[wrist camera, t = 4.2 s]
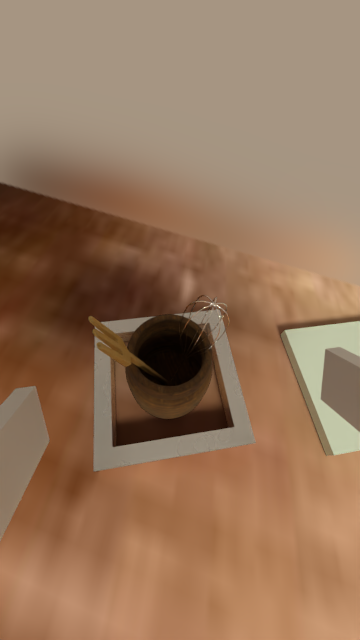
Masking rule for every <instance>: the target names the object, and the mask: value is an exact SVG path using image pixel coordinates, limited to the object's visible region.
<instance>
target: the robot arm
mask: <svg viewBox="0 0 360 640" xmlns="http://www.w3.org/2000/svg"><path fill="white" fill-rule="evenodd" d="M321 400H322V401H323V402H324V403H326V404H327V405H328V406H329V407H330V408H332V409H333V410H334V411H335V412H336V413H337V414H339V415H340V416H341V417H342V418H343V419H345V420H346V421H347V422H348V423H349V424H351V425H352V426H353V427H354V428H355V429H356V430H358V431H359V432H360V357H359V356H357V355H355V354H353V353H351V352H349V351H347V350H345V349H343V348H341V347H335V348H328V349H325V357H324V368H323V378H322V388H321ZM49 441H50V440H49V436H48V432H47V429H46V425H45V421H44V417H43V413H42V409H41V405H40V401H39V398H38V394H37V390H36V386H32V387H24V388H16V389H15V390H14V391H13V392H12V393H11V395H10V396H9V397H8V398H7V399H6V400H5V401H4V402H3V403H2V404H1V405H0V541H1V539H2V537H3V535H4V533H5V530H6V528H7V526H8V524H9V522H10V520H11V518H12V516H13V514H14V512H15V510H16V508H17V506H18V504H19V502H20V500H21V498H22V496H23V494H24V492H25V490H26V488H27V486H28V484H29V482H30V480H31V477H32V475H33V473H34V471H35V469H36V467H37V465H38V463H39V461H40V459H41V457H42V455H43V453H44V451H45V449H46V447H47V445H48V443H49Z"/></svg>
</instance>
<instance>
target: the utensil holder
mask: <svg viewBox="0 0 360 640" xmlns="http://www.w3.org/2000/svg"><path fill="white" fill-rule="evenodd" d="M202 296H206V295H202ZM200 297H201V296H200ZM200 297H198V299H199V298H200ZM206 297H208V296H206ZM208 298H209V297H208ZM215 298H216V299H217V297H215ZM215 298H214V300H215V302H216V299H215ZM198 299H197V300H198ZM209 299H210V298H209ZM197 300H196V301H195V302H193V303H195V304H196V302H207V301H197ZM210 300H211V299H210ZM214 300H213V301H214ZM211 301H212V300H211ZM213 301H212V303H211V302H207V303H211V305H209V306H210V307H211V306H212V305H213V308H214V306H215V308H216V306H217V307H219V306H218V305H216V304H224V303H216V304H215V302H213ZM193 303H191V304H193ZM191 304H189V305H191ZM195 304H194V306H195ZM189 305H188V306H189ZM224 305H226V304H224ZM188 306H187V307H186V309H187V308H188ZM194 306H193V308H194ZM209 306H207V307H209ZM207 307H204V308H203V309H205V308H207ZM210 307H209V309H210ZM193 308H192V310H193ZM213 308H212V310H213ZM219 308H221V307H219ZM186 309H185V311H186ZM203 309H201V310H203ZM209 309H208V310H209ZM221 309H222V308H221ZM192 310H191V312H192ZM201 310H199V311H201ZM212 310H211V313H212ZM216 310H217V308H216ZM222 310H223V309H222ZM185 311H184V313H185ZM199 311H198V312H199ZM223 311H224V310H223ZM226 311H227V305H226ZM226 311H224V312H225V313H226ZM198 312H196V313H195V314H197V313H198ZM207 312H208V311H207ZM207 312H206V314H207ZM184 313H183V315H184ZM211 313H210V315H211ZM217 313H218V310H217ZM225 313H224V314H225ZM195 314H194V315H195ZM206 314H205V316H206ZM224 314H223V316H224ZM183 315H182V316H180V315H173V314H166V315H159V316H156V317H153V318H151V319H149V320H147V321H145V322H144V323H142V324H141V325H140V326H139V327H138V328H137V329H136V330H135V332H134V333H133V335H132V336H131V338H130V341H129V343H128V347H126V345H125V343H124V342H123V340H122V338H121V337H119V336H118V335H117V334H116V333H114V332H113V331H111V330H110V329H109V328H107V327H106V326H105V325H103V324H102V323H101V322H99V321H98V320H97V319H95V318H94V317H92V316H89V317H88V320H89V322H90V323H91V324H92V325H94V326H95V327H96V328H97V329H98V330H97V329H93V330H92V332H93V335H94V336H95V337H97V338H98V339H99V340H101V341H102V342H103V343H105V344H106V345H107V346H106V345H104V344H103V343H101V342H98V343H97V344H96V345H97V348H98V349H99V350H100V351H102V352H103V353H105V354H106V355H108V356H109V357H111V358H112V359H114V360H115V361H117V362H118V363H120V364H121V365H123V366H125V367H126V378H127V382H128V385H129V388H130V390H131V392H132V394H133V396H134V398H135V400H136V401H137V403H138V404H139V405H140V406H141V408H142V409H144V410H145V411H146V412H147V413H149V414H151V415H153V416H155V417H158V418H163V419H174V418H178V417H181V416H184V415H186V414H187V413H189V412H190V411H192V410H193V409H194V408H195V407H196V406H197V405H198V403H199V402H200V401H201V399H202V398H203V396H204V394H205V392H206V390H207V388H208V386H209V384H210V380H211V376H212V345H213V344H214V343H216V342H217V341H218V340H219V339H220V338H221V337H222V335H223V334H224V332H225V331H226V329H227V328H228V325H229V317H228V314H227V313H226V315H227V317H228V325H227V327H226V329H225V331H224V332H223V334H222V335H221V337H220V338H219V339H218V340H217V341H216V342H215V340H216V339H217V337H218V335H219V333H218V335H217V337H216V339H215V340H214V342H213V344H210V341H209V338H208V335H209V334H210V333H211V332H212V331H213V330H214V329H215V328H216V327H217V325H218V324H219V323H220V321H221V319H222V318H223V316H222V318H221V319H220V316H219V313H218V316H219V323H218V324H217V325H216V327H215V328H214V329H213V330H212V331H211V332H210V333H209V334H208V335H206V333H205V332H204V328H205V326H206V324H207V322H208V320H209V317H210V315H209V317H208V319H207V322H206V324H205V326H204V328H203V329H202V328H201V327H200V326H201V324H202V322H203V320H204V318H205V316H204V318H203V320H202V322H201V324H200V326H199V325H198V324H197V323H195V322H194V321H192V320H190V319H191V318H192V317H193V316H194V315H193V316H192V317H191V318H190V316H189V319H188V318H186V317H183ZM190 315H191V313H190ZM99 330H100V331H101V332H100V331H99ZM219 332H220V326H219ZM108 346H109V347H110V348H109V347H108Z"/></svg>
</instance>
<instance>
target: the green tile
mask: <svg viewBox="0 0 360 640" xmlns="http://www.w3.org/2000/svg"><path fill="white" fill-rule="evenodd" d="M280 336H281V338H282V341H283V344H284V346H285V349H286V351H287V354H288V357H289V359H290V362H291V364H292V367H293V370H294V372H295V375H296V378H297V380H298V383H299V385H300V388H301V391H302V393H303V396H304V399H305V401H306V404H307V406H308V409H309V412H310V414H311V417H312V419H313V422H314V425H315V427H316V430H317V433H318V435H319V438H320V440H321V443H322V446H323V448H324V451H325V454H326V455H338V454H343V453H349V452H354V451H359V450H360V432H359V431H358V430H356V429H355V428H354V427H353V426H352V425H351V424H349V423H348V422H347V421H346V420H345V419H343V418H342V417H341V416H340V415H339V414H337V413H336V412H335V411H334V410H333V409H332V408H330V407H329V406H328V405H327V404H326V403H324V402H323V401H322V400H321V388H322V378H323V368H324V357H325V349H328V348H335V347H341V348H343V349H345V350H347V351H349V352H351V353H353V354H355V355H357V356H359V357H360V321H355V322H347V323H339V324H331V325H323V326H315V327H306V328H298V329H290V330H284V331H283V333H282V334H281V335H280Z"/></svg>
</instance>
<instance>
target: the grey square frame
mask: <svg viewBox="0 0 360 640" xmlns="http://www.w3.org/2000/svg"><path fill="white" fill-rule="evenodd" d="M206 312H207V311H200V312H198V313H197V314H195V313H196V312H191V315H190V313H184V315H183V313H181V314H173V315H180V316H182V315H183V317H186V318H188V319H189V316H190V318H191V317H192V316H193V315H194V314H195V315H194V316H193V317H192V318H191V319H190V320H192V321H194V322H195V323H197V324H198V325H199V326H200V324H201V322H202V320H203V318H204V316H205V314H206ZM210 313H211V310H209V311H208V312H207V314H206V316H205V318H204V320H203V322H202V324H201V326H200V327H201V328H202V329H203V328H204V326H205V324H206V322H207V319H208V317H209V315H210ZM218 313H219V316H220V319H221V318H222V316H221V312H220V309H218ZM218 313H217V310H212V313H211V315H210V317H209V320H208V322H207V324H206V326H205V328H204V332H207V335H208V334H209V333H210V332H211V331H212V330H213V329H214V328H215V327H216V325H217V324H218V323H219V316H218ZM154 317H156V316H154ZM151 318H153V317H144V318H135V319H126V320H117V321H107V322H101V323H102V324H103V325H105V326H106V327H107V328H109V329H110V330H111V331H113V332H114V333H116V334H117V335H118V336H119V337H121V338H122V340H123V342H126V341H130V338H131V336H132V335H133V333H134V332H135V330H136V329H137V328H138V327H139V326H140V325H141V324H142V323H144V322H145V321H147V320H149V319H151ZM219 326H220V332H219ZM95 329H97V328H96V327H95ZM97 330H98V329H97ZM99 331H100V330H99ZM224 331H225V327H224V323H223V320H222V319H221V321H220V323H219V324H218V325H217V327H216V328H215V329H214V330H213V331H212V332H211V333H210V334H209V335H208V338H209V341H210V344H213V342H214V340H215V339H216V337H217V335H218V333H219V335H218V337H217V339H216V340H215V342H216V341H217V340H218V339H219V338H220V337H221V335H222V334H223V332H224ZM100 332H101V331H100ZM98 342H101V343H103V342H102V341H101V340H99V339H98V338H97V337H95V362H94V471H100V470H106V469H111V468H117V467H123V466H128V465H134V464H140V463H145V462H151V461H157V460H162V459H168V458H174V457H180V456H185V455H191V454H197V453H202V452H208V451H214V450H219V449H225V448H231V447H236V446H242V445H248V444H253V443H256V442H255V438H254V435H253V431H252V427H251V424H250V420H249V416H248V412H247V409H246V405H245V401H244V398H243V394H242V390H241V386H240V383H239V379H238V375H237V372H236V368H235V364H234V360H233V357H232V353H231V349H230V346H229V342H228V338H227V334H226V331H225V332H224V334H223V335H222V337H221V338H220V339H219V340H218V341H217V342H216V343H214V344H213V345H212V359H213V363H214V367H215V372H216V376H217V380H218V385H219V389H220V394H221V398H222V402H223V407H224V411H225V415H226V420H227V424H228V428H226V429H220V430H213V431H207V432H201V433H195V434H189V435H183V436H177V437H171V438H165V439H159V440H153V441H147V442H141V443H135V444H129V445H123V446H117V434H116V402H115V370H114V359H112V358H111V357H109V356H108V355H106V354H105V353H103V352H102V351H100V350H99V349H98V348H97V345H96V344H97V343H98ZM103 344H104V345H106V344H105V343H103ZM106 346H107V345H106ZM108 347H109V346H108ZM109 348H110V347H109Z"/></svg>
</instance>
